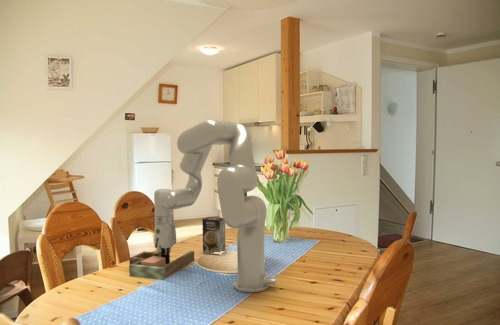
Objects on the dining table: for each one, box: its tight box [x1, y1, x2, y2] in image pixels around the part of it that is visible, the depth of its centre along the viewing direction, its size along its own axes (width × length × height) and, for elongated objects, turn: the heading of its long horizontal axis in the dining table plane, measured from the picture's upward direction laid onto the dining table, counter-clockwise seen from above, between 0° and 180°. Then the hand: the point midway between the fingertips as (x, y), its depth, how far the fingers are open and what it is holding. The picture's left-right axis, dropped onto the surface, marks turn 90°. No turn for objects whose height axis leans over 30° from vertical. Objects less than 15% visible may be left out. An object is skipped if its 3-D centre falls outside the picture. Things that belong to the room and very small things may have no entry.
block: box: [141, 256, 167, 267], centre depth 146 cm, size 6×8×5 cm
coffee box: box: [202, 216, 227, 255], centre depth 171 cm, size 9×6×16 cm
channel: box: [128, 250, 195, 280], centre depth 152 cm, size 21×24×4 cm
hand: (165, 263), depth 152 cm, fingers closed
